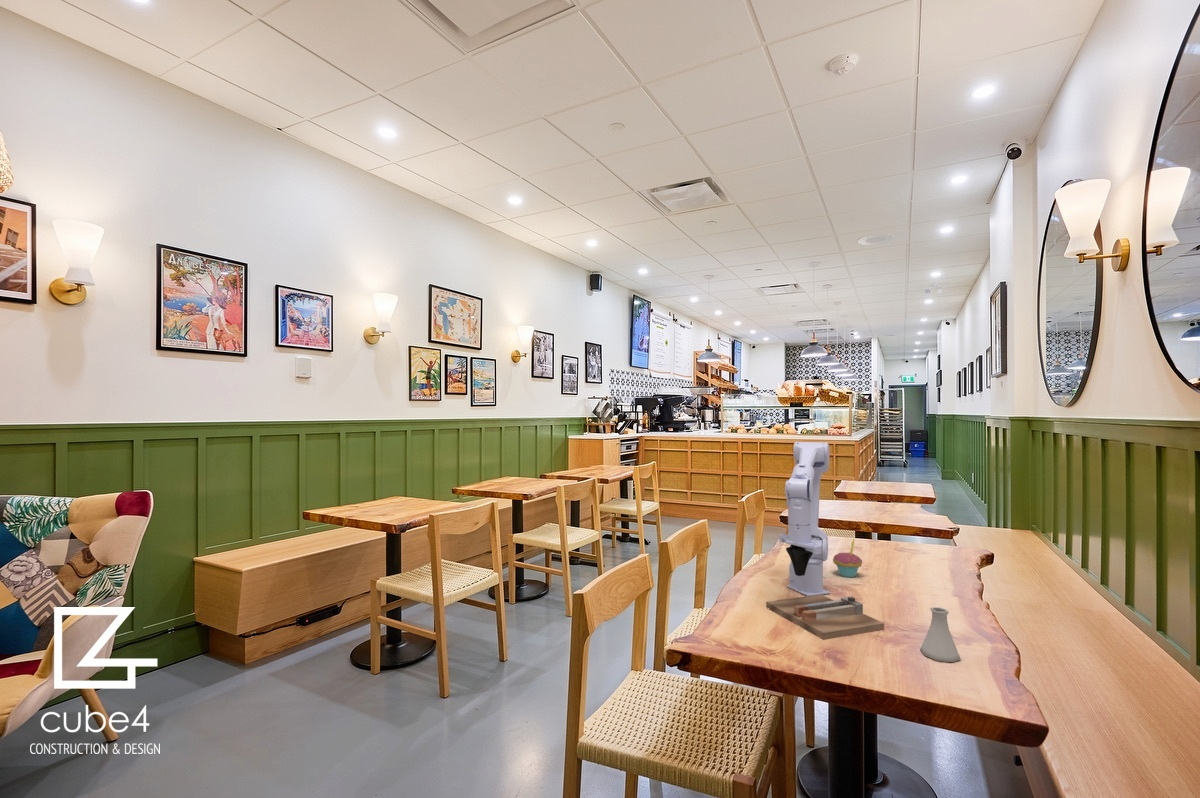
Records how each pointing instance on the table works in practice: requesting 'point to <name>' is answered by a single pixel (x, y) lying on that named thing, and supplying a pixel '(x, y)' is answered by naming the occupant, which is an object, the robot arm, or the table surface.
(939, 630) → the flask
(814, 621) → the tongs board
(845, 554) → the cupcake
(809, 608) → the tong arm
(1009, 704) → the table surface
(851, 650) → the table surface
